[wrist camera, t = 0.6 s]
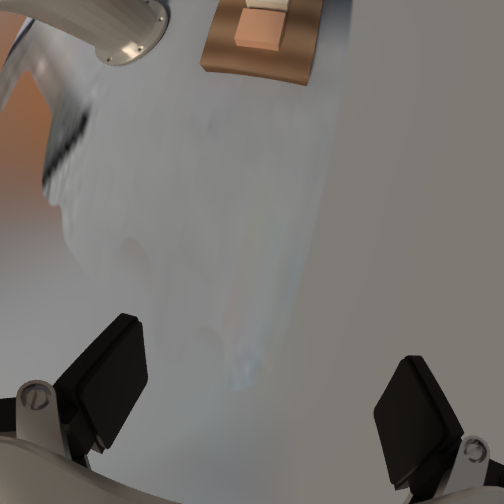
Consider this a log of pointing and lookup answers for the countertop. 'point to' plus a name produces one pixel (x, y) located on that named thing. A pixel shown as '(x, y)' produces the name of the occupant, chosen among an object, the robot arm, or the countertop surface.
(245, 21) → the terracotta tile
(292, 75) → the walnut board
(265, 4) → the cream tile
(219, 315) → the countertop surface
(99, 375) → the robot arm
